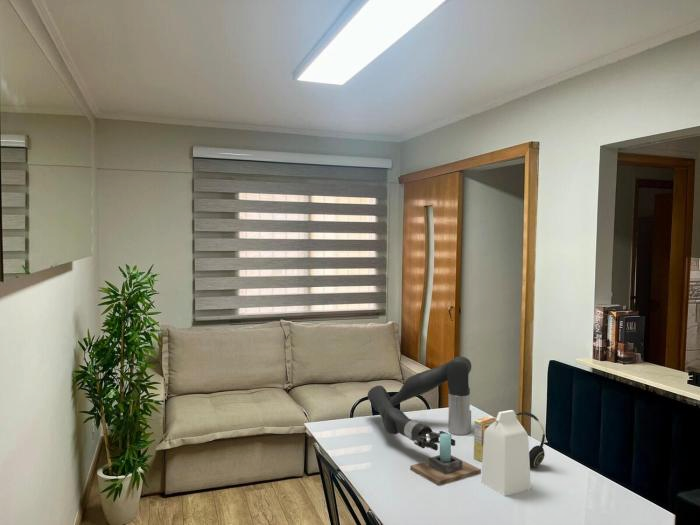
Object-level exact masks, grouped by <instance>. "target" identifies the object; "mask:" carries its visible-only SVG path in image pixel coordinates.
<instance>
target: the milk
mask: <svg viewBox="0 0 700 525" xmlns="http://www.w3.org/2000/svg"><path fill="white" fill-rule="evenodd" d="M516 415H517V414H516V411H515V410H513V409H509V410H502V411H498V413H497V415H496V418H495V419H496V421H495V422H493V423H492V424H491V425H490V426H489V427H487V428H486V430H485V432H484V443H483V460H482V462H481V463H482V464H481V475H480V476H481V479H480V484H482V483H483V485H484V486H486V487H488V488H490V489H491V490H493V491H495V492H496V493H499V495H502V496H504V497H505V496H509V495H513V494H517V493H521V492H524V491H528V490H530V489H532V486H531V485H532V483H531V467H530V461H529V452H530V447H529V445H530V444H529V434H528V433H527V431H526V430H525V428H524V426H523V425H522V424H521V423H520V421H519V420H518V418H517V416H516Z"/></svg>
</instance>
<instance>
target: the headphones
mask: <svg viewBox="0 0 700 525" xmlns="http://www.w3.org/2000/svg"><path fill="white" fill-rule="evenodd" d="M515 415H516V417H518V416H521V415H525V416H527V417H528V416H529V417H531V418H532V419H534V420H535V421H536V422H537V423H538V424H539V425H540V428H541V430H542V438H541V442H540V444H539V445H535V446H533V447H532V448H531V449H529V461H530V468H536V467H538V466H540V465H541V464H542V462H544V461H543V460H544V458H545V455H546V453H545V450H544V448H543V447H544V444H545V441H546V439H545V437H546V434H545V429H544V426H543V424H542V423H541V422H540V419H539V418H538V417H537V416H536V415H535V414H533V413H531V412H528V411H527V412H526V411H521V412H518V413H517V414H515Z"/></svg>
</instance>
